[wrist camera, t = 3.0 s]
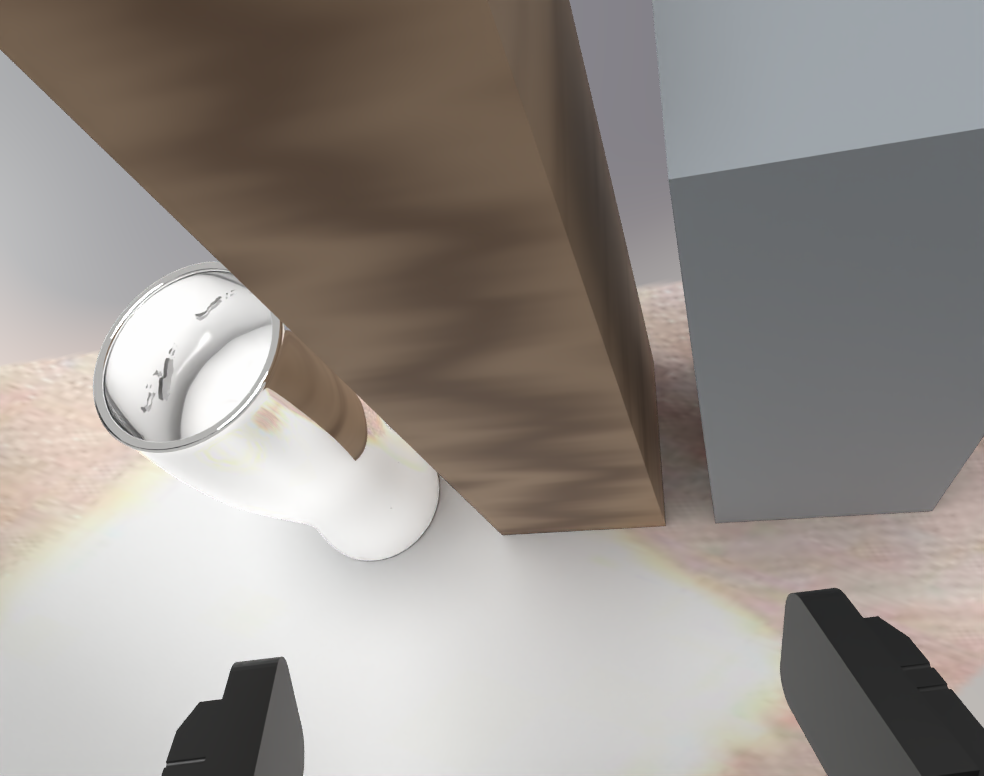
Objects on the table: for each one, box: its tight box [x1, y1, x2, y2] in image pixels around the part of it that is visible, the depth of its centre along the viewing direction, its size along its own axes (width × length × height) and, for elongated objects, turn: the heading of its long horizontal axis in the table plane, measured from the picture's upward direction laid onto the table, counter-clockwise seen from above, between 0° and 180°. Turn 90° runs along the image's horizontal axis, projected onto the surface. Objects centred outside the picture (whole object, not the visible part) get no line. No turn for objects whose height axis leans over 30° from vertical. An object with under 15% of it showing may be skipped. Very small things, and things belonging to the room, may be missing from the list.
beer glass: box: [93, 261, 439, 561], centre depth 31 cm, size 7×7×15 cm
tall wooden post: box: [0, 0, 666, 535], centre depth 22 cm, size 7×8×32 cm
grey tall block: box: [652, 0, 984, 523], centre depth 24 cm, size 8×8×22 cm
